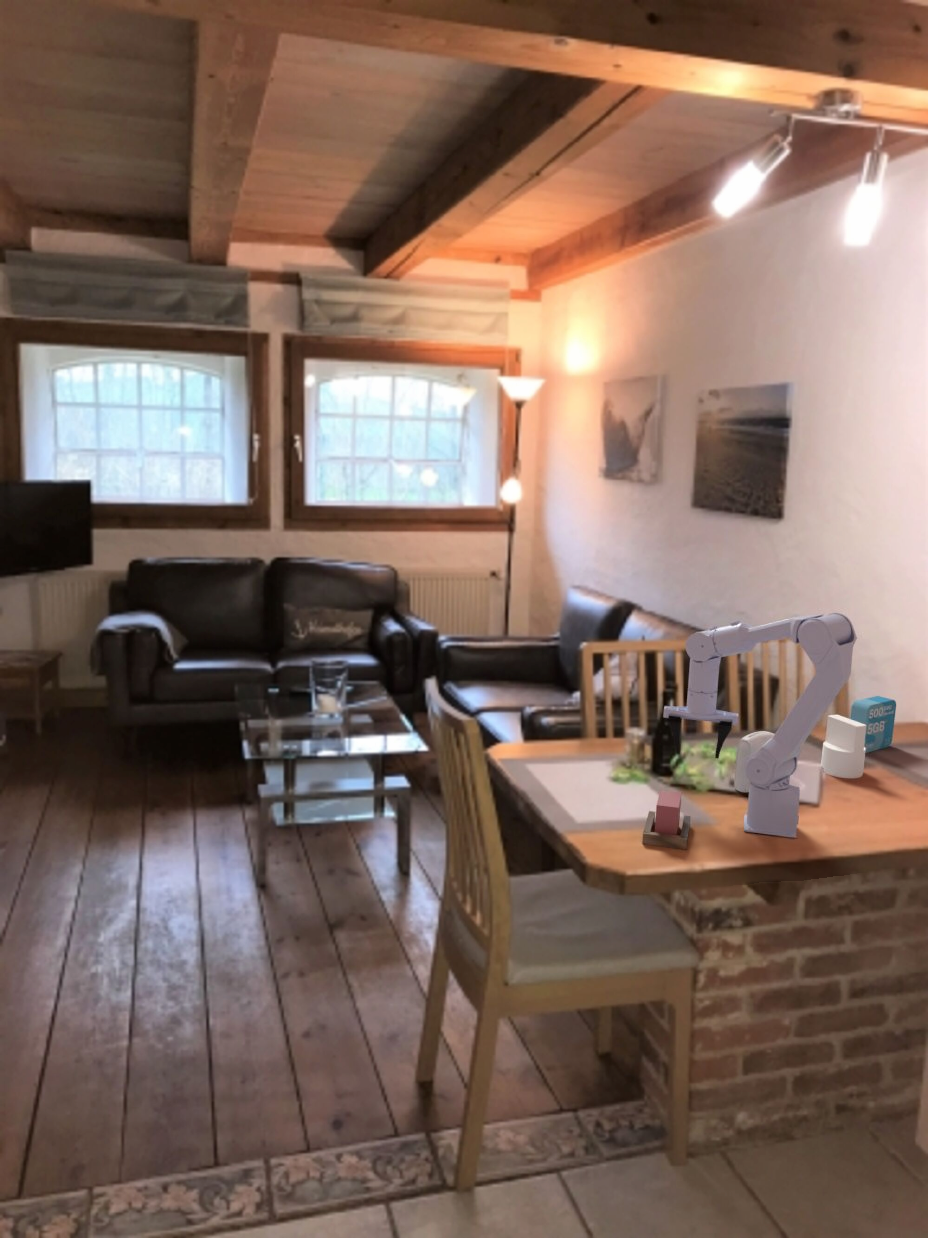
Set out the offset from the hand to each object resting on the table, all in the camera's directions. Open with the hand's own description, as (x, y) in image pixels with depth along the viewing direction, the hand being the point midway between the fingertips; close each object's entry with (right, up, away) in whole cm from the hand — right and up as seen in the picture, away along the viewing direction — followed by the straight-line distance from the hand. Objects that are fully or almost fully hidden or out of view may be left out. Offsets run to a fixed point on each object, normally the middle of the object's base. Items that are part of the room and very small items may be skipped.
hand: (697, 754), depth 203 cm
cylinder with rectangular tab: (+38, -7, +24) cm, 46 cm away
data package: (+52, -4, +42) cm, 67 cm away
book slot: (-9, -13, -14) cm, 21 cm away
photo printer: (+15, -9, +12) cm, 21 cm away
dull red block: (-9, -13, -14) cm, 21 cm away
